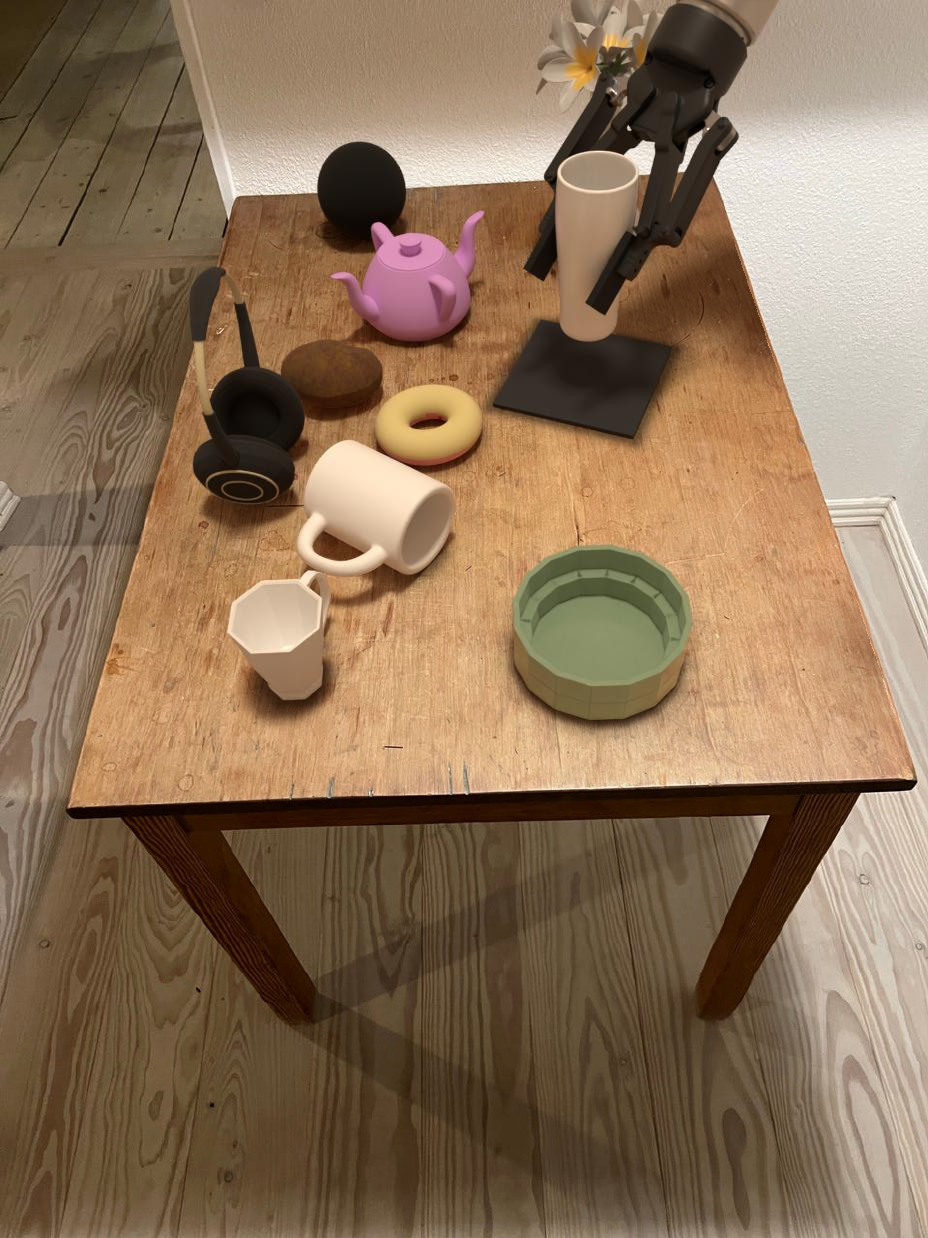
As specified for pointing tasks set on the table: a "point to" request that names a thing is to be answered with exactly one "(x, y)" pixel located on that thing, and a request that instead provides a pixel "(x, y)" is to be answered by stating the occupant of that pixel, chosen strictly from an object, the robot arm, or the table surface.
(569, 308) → the drinking glass
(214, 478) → the headphones
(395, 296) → the teapot
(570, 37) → the flower vase
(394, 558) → the mug
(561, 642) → the bowl
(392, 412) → the donut
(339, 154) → the decorative ball
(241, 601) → the cup
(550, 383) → the mat
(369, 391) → the potato
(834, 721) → the table surface
